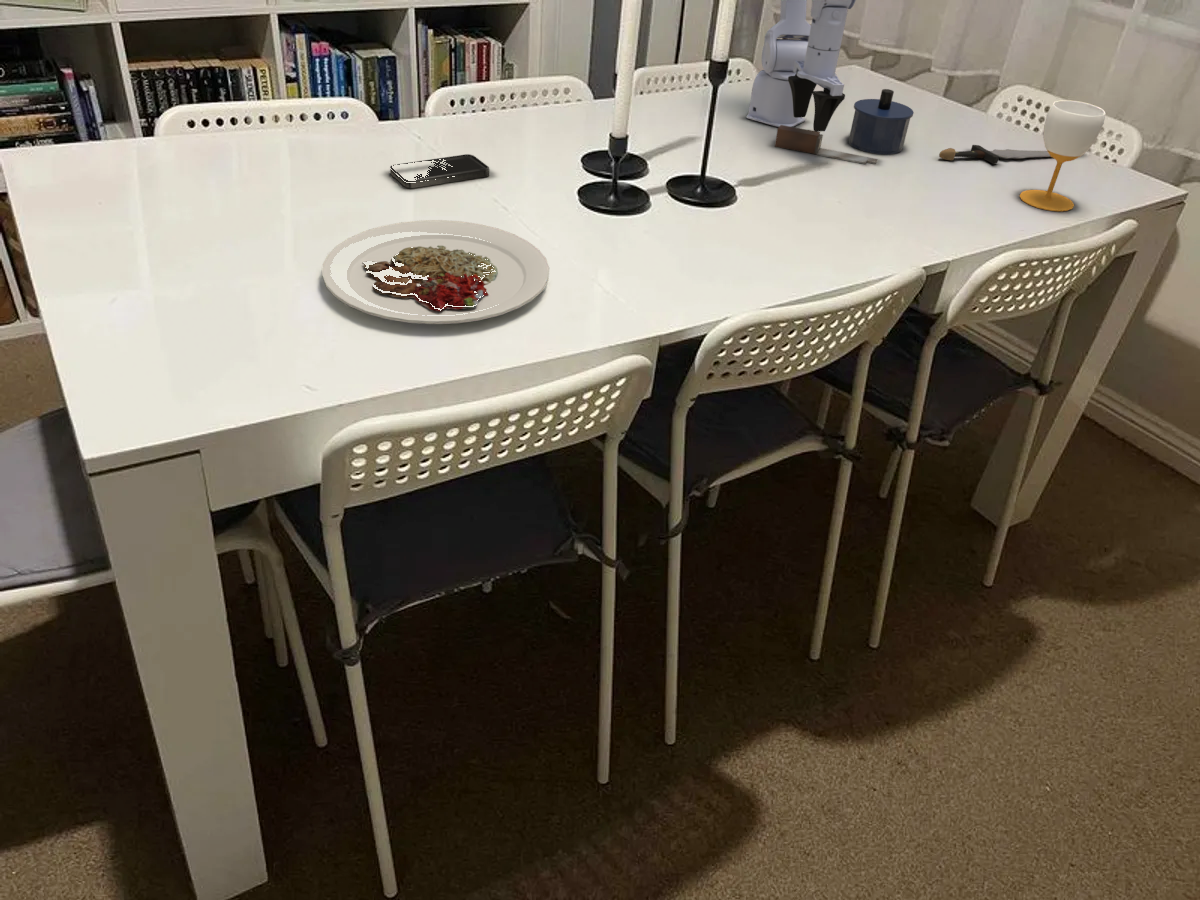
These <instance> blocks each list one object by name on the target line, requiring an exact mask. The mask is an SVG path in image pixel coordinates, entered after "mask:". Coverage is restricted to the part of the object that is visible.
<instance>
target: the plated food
mask: <svg viewBox="0 0 1200 900" xmlns="http://www.w3.org/2000/svg"><path fill="white" fill-rule="evenodd" d="M411 231H412V232H419V231H420V232H427V233H439V234H441V233H443V234H446V233H447V234H453V235H420V236H411V237H404V238H399V239H394V240H391V241H387V242H384V243H381V244H378V245H376V246H374V247H371V248H369V249H367V250H366V251H364V252H363V253H361V254H360V255H358V256H357V257H356V258H355V259H354V260H353V261H352V262H351V264H350V266H349V268H348V270H347V280H348V282H349V284H350V287H351V288H352V289H353V290H354V291H355V292H356V293H357V294H358V295H359V296H361V297H362V298H364V299H365V300H367V301H368V302H371V303H373V304H375V305H378V306H380V307H383V308H387V309H390V310H394V311H398V312H404V313H410V314H418V315H410V314H409V315H408V314H402V313H395V312H391V311H387V310H383V309H380V308H379V309H378V308H376V307H373V306H369V305H368V304H367V305H366V304H364V303H363V302H361V301H359V300H357V299H356V298H354V297H352V296H349V295H348V294H346V293H345V292H344V291H343V290H341V288H339V286H338V285H336V283H335V282H334V280H333V279H332V277H331V276H330V275H331V274H332V273H331V270H330V268H331V267H330V265H331V264H332V263H333V262H332V261H333V259H334V257H335V256H336V255H337V253H339V252H340V250H342V249H343V248H344V247H345V248H346V247H348V246H349V245H350V244H352V243H353V244H354V243H356V242H359V241H362V240H363V239H364V240H365V239H367V238H368V237H370V238H371V237H372V236H373V237H376V236H380V235H385V234H393V233H398V232H400V233H402V232H411ZM454 235H461V236H454ZM462 236H470V237H473V238H469V237H462ZM475 237H476V238H477V239H475ZM479 238H480V239H482V240H479ZM483 240H485V241H483ZM487 241H488V242H487ZM490 242H491V243H490ZM411 247H413V248H411ZM398 253H399V254H398ZM469 253H470V254H469ZM396 254H398V255H396ZM471 254H472V255H471ZM395 255H396V256H395ZM474 255H475V256H474ZM392 257H393V258H394V259H395V263H396V262H398V263H402V264H404V266H401V267H398V266H395V264H394V262H393V261H392ZM485 259H486V260H485ZM487 259H488V260H487ZM367 261H372V262H377V263H375V264H373V265H369V268H368V269H367V268H365V267H366V265H365V264H364V263H363V262H367ZM481 263H484V264H486V265H490V264H491V266H488V267H487V269H486V268H484V269H483V267H486V265H484V266H482V267H478V265H480V266H481V265H483V264H481ZM389 266H390V267H392V268H393V269H394V270H395V271H399V272H400V273H402V274H405V273H406V274H407V273H409V272H411V273H413V275H415V274H416V275H422V277H425V276H427V275H429V277H427V279H428V280H423V279H412V278H411V276H408V277H402V276H399V277H401V278H396V277H393V276H390V275H389V276H387V275H386V276H387V277H386V276H384V278H385V279H386V280H387V282H389V281H390V282H393V280H394V282H401V283H403V282H404V283H405V284H406V283H407V282H408V281H409V280H410V279H411V280H412V283H408V284H407V285H400V284H395V285H390V284H387V283H385V282H382V281H381V280H380V279H379V278H378V277H374V275H373V274H371V273H366V271H368V270H369V271H372V272H380V271H382V270H386V269H389ZM492 266H493V267H494V268H493V267H492ZM321 269H322V270H321V277H322V279H323V283H324V284H325V287H326V289H327V290H328V291H329V292H330V293H331V294H332V295H333V296H334V297H335V298H336V299H338V300H339V301H341V302H342V303H344V304H345V305H347V306H349V307H350V308H352V309H355V310H358V311H360V312H362V313H364V314H367V315H370V316H374V317H378V318H381V319H384V320H390V321H396V322H403V323H409V324H426V325H445V324H446V325H447V324H462V323H470V322H476V321H482V320H486V319H490V318H495V317H499V316H502V315H505V314H507V313H509V312H513V311H515V310H517V309H520V308H522V307H523V306H525V305H527V304H528V303H530V302H532V301H534V299H536V298H537V296H539V295H540V294H541V293H542V292H543V291H544V289H545V288H546V285H547V284H548V282H549V277H550V265H549V263H548V260H547V258H546V256H545V255H544V254H543V252H542V251H541V250H540V249H539V248H538V247H536V246H535V245H534V244H532V243H531V242H530V241H529V240H526V239H525V238H523V237H521V236H519V235H517V234H515V233H513V232H510V231H506V230H504V229H500V228H497V227H494V226H489V225H486V224H481V223H477V222H476V223H475V222H468V221H461V220H443V219H429V220H424V219H423V220H422V219H421V220H412V221H411V220H410V221H401V222H396V223H390V224H385V225H380V226H376V227H373V228H371V229H367V230H364V231H361V232H359V233H356V234H354V235H352V236H350V237H348V238H346V239H345V240H343V241H341V242H339V243H338V244H337V245H336V246H334V247H333V248H332V249H331V250H330V251H329V252H328V253H327V255H326V257H325V258H324V261H323V263H322V268H321ZM393 269H392V270H393ZM491 269H493V270H491ZM494 270H495V271H496V272H492V271H494ZM483 272H490V273H483ZM491 272H492V273H491ZM330 273H331V274H330ZM486 274H489V275H486ZM472 275H473V276H472ZM483 275H485V277H484V276H483ZM461 276H462V277H461ZM478 276H480V277H481V278H482V277H484V278H483V279H482V280H481V278H480V277H478ZM408 278H409V279H408ZM414 278H415V277H414ZM419 278H421V277H419ZM474 279H475V281H474ZM386 280H385V281H386ZM479 281H481V282H479ZM373 284H374V285H376V287H378V289H381V290H383V291H390V292H396V293H401V294H410V293H413V294H414V293H415V294H417V295H418V298H420V299H421V300H423V301H427V302H429V303H426V302H422V301H419V299H418V298H417V297H416V296H415V295H407V296H401V295H396V294H392V293H382V292H381V291H379V290H377V289H375V288H374V287H373ZM420 285H421V286H420ZM474 291H476V292H477V293H474ZM485 292H486V293H485ZM476 294H478V295H476ZM483 295H484V296H483ZM480 296H481V298H479V297H480ZM482 296H483V297H482ZM478 299H479V300H478ZM477 300H478V301H477ZM430 303H431V304H432V305H433V306H435V308H440V309H442V308H443V307H444V306H445V304H447V303H448V305H453V306H465V305H466V306H473V305H476V304H477V305H476V306H474V307H452V306H446V307H444V309H442V310H441V311H440V310H438V309H434V307H432V305H431V304H430ZM498 304H499V305H498ZM495 305H497V306H495ZM493 306H494V307H493ZM490 307H492V308H490ZM487 308H489V309H487ZM483 309H486V310H483ZM479 310H483V311H479ZM475 311H478V312H475ZM470 312H475V313H470ZM463 313H468V314H465V315H464V314H463ZM456 314H463V315H456ZM422 315H425V316H422ZM427 315H455V316H427Z"/></svg>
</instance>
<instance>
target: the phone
mask: <svg viewBox="0 0 1200 900" xmlns="http://www.w3.org/2000/svg"><path fill="white" fill-rule="evenodd" d="M439 159H441V160H439ZM443 159H444V160H446V161H444V162H446V163H448V164H450V165H451V166H453V167H451V166H448V164H447V165H446V166H445V165H443V164H440V162H442V161H443ZM432 160H434V161H436V162H438V161H439V162H438V163H436V162H433V163H435V164H436V165H435V164H434V165H435V166H437V165H438V166H437V167H438V168H437V167H435V166H434V167H431V166H429V167H431V168H432V169H430V168H429V167H428V168H429V169H430V170H431V171H430V170H428V171H429V172H428V171H427V172H428V173H429V174H428V173H427V174H428V175H429V176H428V175H426V176H427V177H426V176H425V178H424V177H422V174H420V175H421V176H420V175H418V174H417V175H418V176H419V177H418V176H416V177H417V180H416V179H415V180H416V181H408V180H406V179H404V178H403V177H402V176H401V175H400V174H399V173H398V172H396V171H395V170H394V169H393V168H392V165H393V166H394V165H395V164H392V165H390V166H389V172H390V175H391V176H392V177H393V178H394V179H395V180H396V181H397V182H398V183H400V184H401V185H402V186H403V187H404V188H407V189H416V188H422V187H428V186H436V185H440V184H441V185H442V184H448V183H454V182H461V181H467V180H473V179H479V178H485V177H486V178H487V177H489V176H490V167H489V166H488V165H487V164H486V163H484V162H483V161H482V160H481V159H479V158H478V157H477V156H475V155H474V154H469V153H466V154H459V155H452V156H444V157H439V158H431V159H424V160H417V161H410V162H403V163H402V164H408V163H413V162H414V163H415V162H422V161H432ZM444 162H443V163H444ZM431 163H432V162H431ZM446 163H445V164H446ZM400 164H401V163H397V165H400ZM439 164H440V165H439ZM441 165H443V166H445V167H446V168H445V167H443V166H441ZM439 166H441V167H443V168H445V169H446V170H447V171H446V170H444V169H443V170H442V168H441V167H439ZM390 168H391V169H392V170H393V171H394V172H395V173H397V174H398V175H399V176H400V177H401V178H402V179H403V180H404V181H406V182H416V183H406V182H404V181H403V180H402V179H401V178H400V177H398V176H397V175H396V174H395V173H394V172H393V171H392V170H391V169H390ZM452 176H455V177H452ZM416 177H414V178H416ZM420 177H422V178H420ZM447 177H449V178H447ZM418 178H419V179H418ZM435 179H436V180H435ZM425 180H426V181H425ZM427 180H429V181H427ZM420 181H423V182H420Z"/></svg>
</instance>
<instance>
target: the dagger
mask: <svg viewBox="0 0 1200 900" xmlns="http://www.w3.org/2000/svg"><path fill="white" fill-rule="evenodd" d="M938 156H939V158H940V159H943V160H947V161H954V159H955V158H975V159H982V160H985V161H987V162H988V163H990V164H993V165H995V164H998V162H999V159H1027V158H1029V159H1030V158H1052V157H1051V156H1050V154H1049V153H1048V151H1047V150H1025V149H1024V150H1019V149H1009V148H1008V149H993V150H988V149H986V148H985V147H983V146H981V145H979V144H972V145H971V148H970V150H962V151H957V150H956V149H955V148H952V147H949V148H946V149H942V150H941V151H940V152H939V154H938Z"/></svg>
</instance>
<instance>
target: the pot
mask: <svg viewBox="0 0 1200 900" xmlns="http://www.w3.org/2000/svg"><path fill="white" fill-rule="evenodd" d="M852 118H853V119H852V123H851V126H850V132H849V137H848V144H849V145H850V146H851V147H853V148H854V149H857V150H860V151H862V152H866V153H870V154H876V155H895V154H898V153H901V152H902V151H903V148H904V145H905V142H906V138H907V132H908V129H909V125H910V121H911V118H909V119H906V120H883V119H877V118H873V117H869V116H866V115H863V114H861V113H859V112H857V111H856V110H855V109H854V113H853V117H852Z"/></svg>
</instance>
